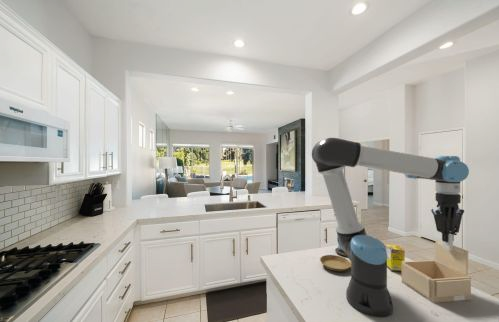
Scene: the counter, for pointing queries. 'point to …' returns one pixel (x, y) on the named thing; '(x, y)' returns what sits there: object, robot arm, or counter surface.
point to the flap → (452, 257)
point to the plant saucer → (335, 263)
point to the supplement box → (395, 257)
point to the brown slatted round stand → (340, 251)
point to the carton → (436, 281)
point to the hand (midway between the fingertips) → (447, 249)
